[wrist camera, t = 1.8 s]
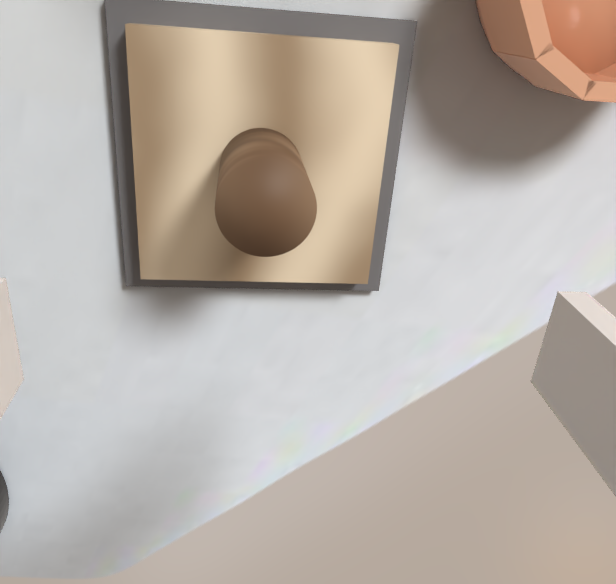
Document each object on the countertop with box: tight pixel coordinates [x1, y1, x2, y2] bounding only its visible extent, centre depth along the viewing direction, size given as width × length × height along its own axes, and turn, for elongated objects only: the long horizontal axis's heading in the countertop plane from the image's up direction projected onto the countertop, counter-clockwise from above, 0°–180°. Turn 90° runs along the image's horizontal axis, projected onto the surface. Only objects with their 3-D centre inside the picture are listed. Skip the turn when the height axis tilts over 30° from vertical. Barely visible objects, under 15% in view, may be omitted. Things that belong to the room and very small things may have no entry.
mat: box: [105, 0, 417, 291], centre depth 29 cm, size 14×14×1 cm
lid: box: [125, 23, 399, 284], centre depth 26 cm, size 12×12×7 cm
